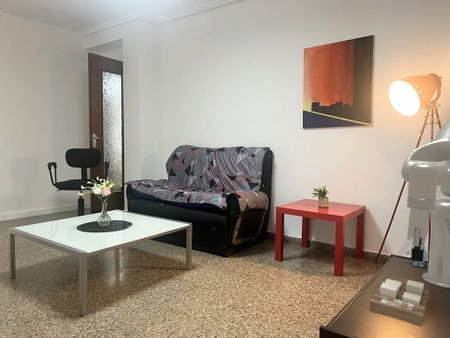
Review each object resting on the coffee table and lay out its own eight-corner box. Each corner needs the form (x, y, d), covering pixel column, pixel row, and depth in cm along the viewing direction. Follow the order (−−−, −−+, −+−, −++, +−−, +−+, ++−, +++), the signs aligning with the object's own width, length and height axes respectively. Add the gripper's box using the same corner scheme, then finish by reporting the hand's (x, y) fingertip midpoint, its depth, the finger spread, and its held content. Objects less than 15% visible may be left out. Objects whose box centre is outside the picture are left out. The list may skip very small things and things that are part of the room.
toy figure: (403, 265, 146) (405, 237, 145) (405, 261, 151) (407, 234, 150) (432, 271, 140) (434, 242, 139) (433, 266, 145) (435, 239, 144)
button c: (382, 290, 113) (382, 282, 112) (397, 294, 110) (398, 286, 110) (379, 295, 109) (380, 286, 109) (395, 299, 106) (396, 290, 106)
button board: (383, 286, 122) (383, 277, 122) (428, 298, 114) (428, 288, 114) (369, 310, 104) (370, 299, 104) (421, 325, 96) (422, 314, 96)
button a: (386, 286, 119) (387, 278, 119) (400, 290, 117) (401, 282, 116) (383, 290, 116) (384, 282, 115) (398, 294, 113) (399, 286, 113)
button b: (407, 287, 115) (408, 279, 115) (423, 291, 113) (423, 283, 113) (405, 292, 112) (406, 284, 111) (421, 296, 109) (422, 288, 109)
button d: (403, 300, 109) (404, 291, 109) (420, 304, 106) (421, 295, 106) (401, 305, 105) (402, 296, 105) (418, 310, 103) (419, 301, 102)
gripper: (410, 198, 113) (406, 251, 115) (404, 205, 101) (400, 265, 103) (436, 200, 109) (432, 256, 111) (433, 209, 97) (428, 271, 99)
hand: (416, 260), depth 107 cm, fingers closed
